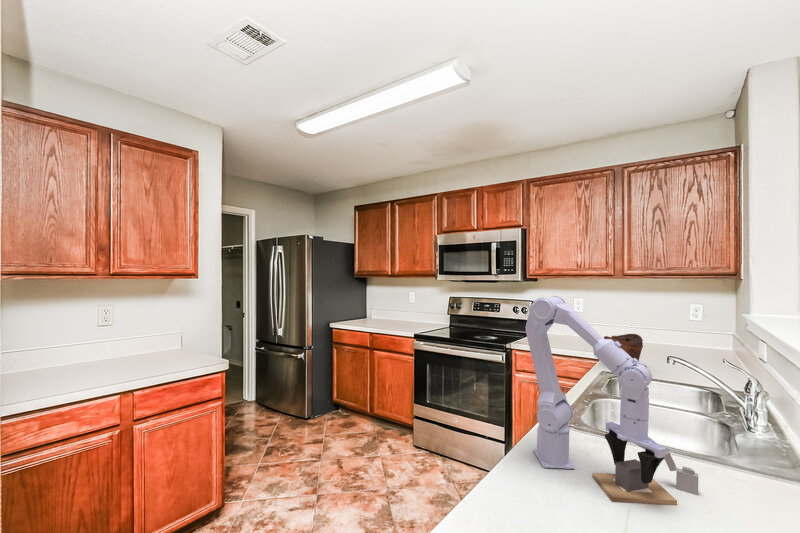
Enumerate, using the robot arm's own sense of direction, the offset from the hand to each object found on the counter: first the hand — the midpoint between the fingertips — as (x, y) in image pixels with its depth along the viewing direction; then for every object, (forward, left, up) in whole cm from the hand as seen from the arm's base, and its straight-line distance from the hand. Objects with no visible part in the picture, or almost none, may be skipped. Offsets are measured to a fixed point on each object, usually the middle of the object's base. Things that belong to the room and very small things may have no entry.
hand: (632, 473), depth 91 cm
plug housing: (0, 0, -3) cm, 3 cm away
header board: (0, 0, -4) cm, 4 cm away
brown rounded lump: (-113, +55, -4) cm, 125 cm away
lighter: (-2, +12, -4) cm, 13 cm away
